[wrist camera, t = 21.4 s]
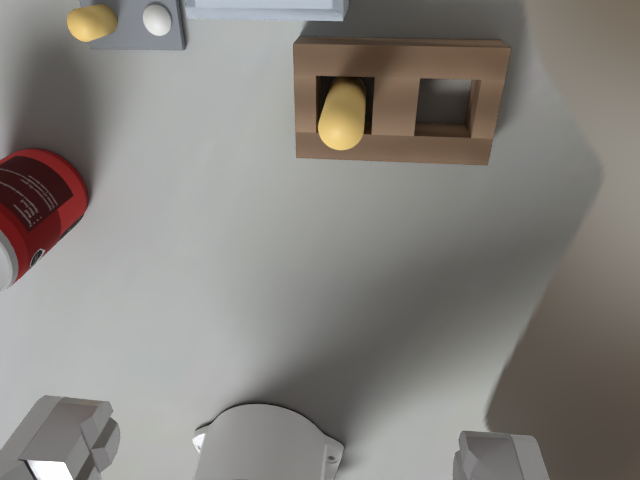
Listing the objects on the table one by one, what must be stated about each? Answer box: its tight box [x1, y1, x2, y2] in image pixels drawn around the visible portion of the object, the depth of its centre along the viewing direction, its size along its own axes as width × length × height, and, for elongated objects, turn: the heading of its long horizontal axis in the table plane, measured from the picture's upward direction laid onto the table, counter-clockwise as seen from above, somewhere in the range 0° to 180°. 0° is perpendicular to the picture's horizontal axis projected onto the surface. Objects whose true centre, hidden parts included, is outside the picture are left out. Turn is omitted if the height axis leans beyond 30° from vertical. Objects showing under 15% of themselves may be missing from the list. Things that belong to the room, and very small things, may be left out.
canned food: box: [0, 149, 88, 294], centre depth 38 cm, size 8×8×11 cm
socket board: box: [293, 36, 511, 165], centre depth 34 cm, size 8×14×3 cm, turn 90°
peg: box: [318, 76, 366, 150], centre depth 32 cm, size 3×3×8 cm
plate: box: [67, 0, 186, 51], centre depth 33 cm, size 4×7×4 cm, turn 90°
